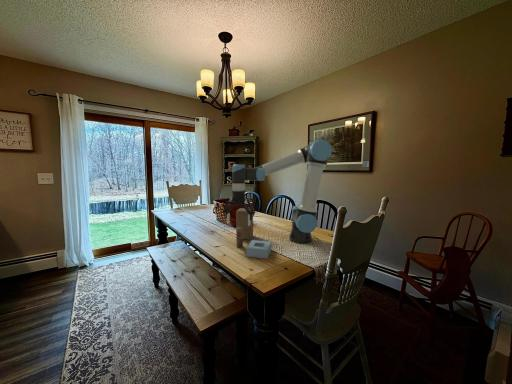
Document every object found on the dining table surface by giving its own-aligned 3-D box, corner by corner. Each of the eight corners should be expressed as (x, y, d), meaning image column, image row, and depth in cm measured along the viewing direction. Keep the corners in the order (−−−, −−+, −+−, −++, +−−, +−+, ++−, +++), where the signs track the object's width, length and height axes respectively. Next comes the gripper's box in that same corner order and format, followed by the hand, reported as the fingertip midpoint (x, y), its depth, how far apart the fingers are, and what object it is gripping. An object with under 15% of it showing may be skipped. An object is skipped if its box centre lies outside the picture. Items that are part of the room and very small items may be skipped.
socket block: (271, 249, 123) (271, 241, 122) (267, 258, 111) (267, 249, 110) (252, 247, 126) (252, 240, 125) (246, 256, 114) (246, 247, 114)
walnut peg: (243, 245, 129) (243, 227, 128) (241, 248, 125) (241, 229, 124) (237, 245, 130) (237, 226, 129) (235, 247, 126) (235, 228, 125)
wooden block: (250, 240, 139) (250, 211, 136) (236, 239, 141) (235, 210, 138) (253, 235, 148) (253, 208, 146) (240, 234, 150) (239, 207, 148)
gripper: (260, 190, 124) (259, 224, 126) (222, 188, 130) (222, 221, 133) (257, 191, 116) (256, 227, 119) (216, 190, 123) (217, 224, 125)
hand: (238, 224), depth 126 cm, fingers open, 13 cm apart
